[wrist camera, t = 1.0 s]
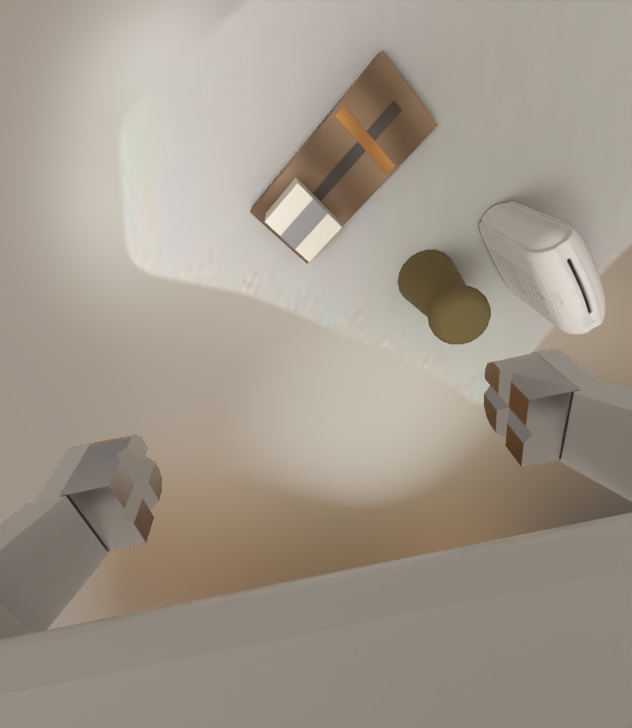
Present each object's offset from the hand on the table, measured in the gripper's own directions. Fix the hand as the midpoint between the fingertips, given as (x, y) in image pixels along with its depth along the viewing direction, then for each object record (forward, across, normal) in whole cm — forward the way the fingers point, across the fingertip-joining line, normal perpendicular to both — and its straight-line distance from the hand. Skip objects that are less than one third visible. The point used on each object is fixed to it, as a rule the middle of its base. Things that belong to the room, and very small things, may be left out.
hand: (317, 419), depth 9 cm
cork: (+33, -13, +10) cm, 37 cm away
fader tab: (+30, -1, +1) cm, 31 cm away
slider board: (+33, -6, -2) cm, 33 cm away
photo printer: (+33, -22, +9) cm, 41 cm away
